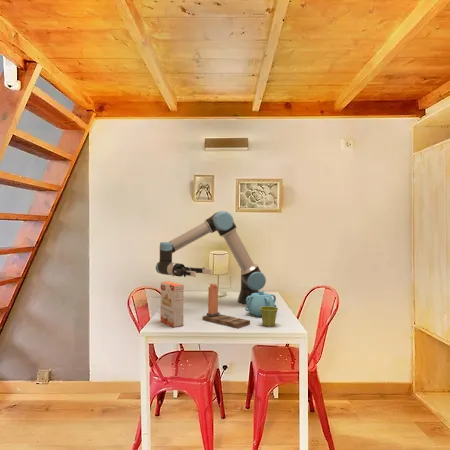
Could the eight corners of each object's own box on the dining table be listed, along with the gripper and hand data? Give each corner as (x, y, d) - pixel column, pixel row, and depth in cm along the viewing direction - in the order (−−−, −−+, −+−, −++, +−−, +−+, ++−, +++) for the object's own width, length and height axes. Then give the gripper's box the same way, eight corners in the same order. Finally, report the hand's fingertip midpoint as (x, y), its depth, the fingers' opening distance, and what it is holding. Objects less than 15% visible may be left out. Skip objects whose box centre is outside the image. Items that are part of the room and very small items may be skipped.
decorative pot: (241, 315, 213) (241, 291, 213) (254, 310, 227) (254, 287, 227) (268, 319, 205) (268, 294, 205) (279, 313, 218) (279, 290, 218)
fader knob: (219, 314, 205) (219, 283, 205) (212, 316, 200) (212, 285, 200) (213, 313, 207) (214, 283, 207) (206, 315, 203) (206, 284, 203)
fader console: (250, 324, 194) (250, 320, 194) (238, 328, 186) (238, 324, 186) (214, 316, 209) (215, 312, 209) (202, 320, 202) (202, 316, 202)
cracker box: (159, 321, 197) (160, 281, 197) (169, 320, 201) (170, 280, 201) (173, 327, 186) (173, 285, 186) (183, 326, 190) (184, 284, 190)
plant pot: (258, 322, 198) (258, 306, 198) (275, 322, 198) (275, 306, 198) (261, 327, 188) (261, 310, 188) (279, 327, 189) (280, 310, 189)
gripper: (191, 274, 231) (217, 277, 218) (160, 278, 213) (187, 282, 199) (191, 261, 231) (218, 264, 218) (160, 264, 213) (187, 268, 199)
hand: (203, 273), depth 208 cm, fingers open, 12 cm apart
